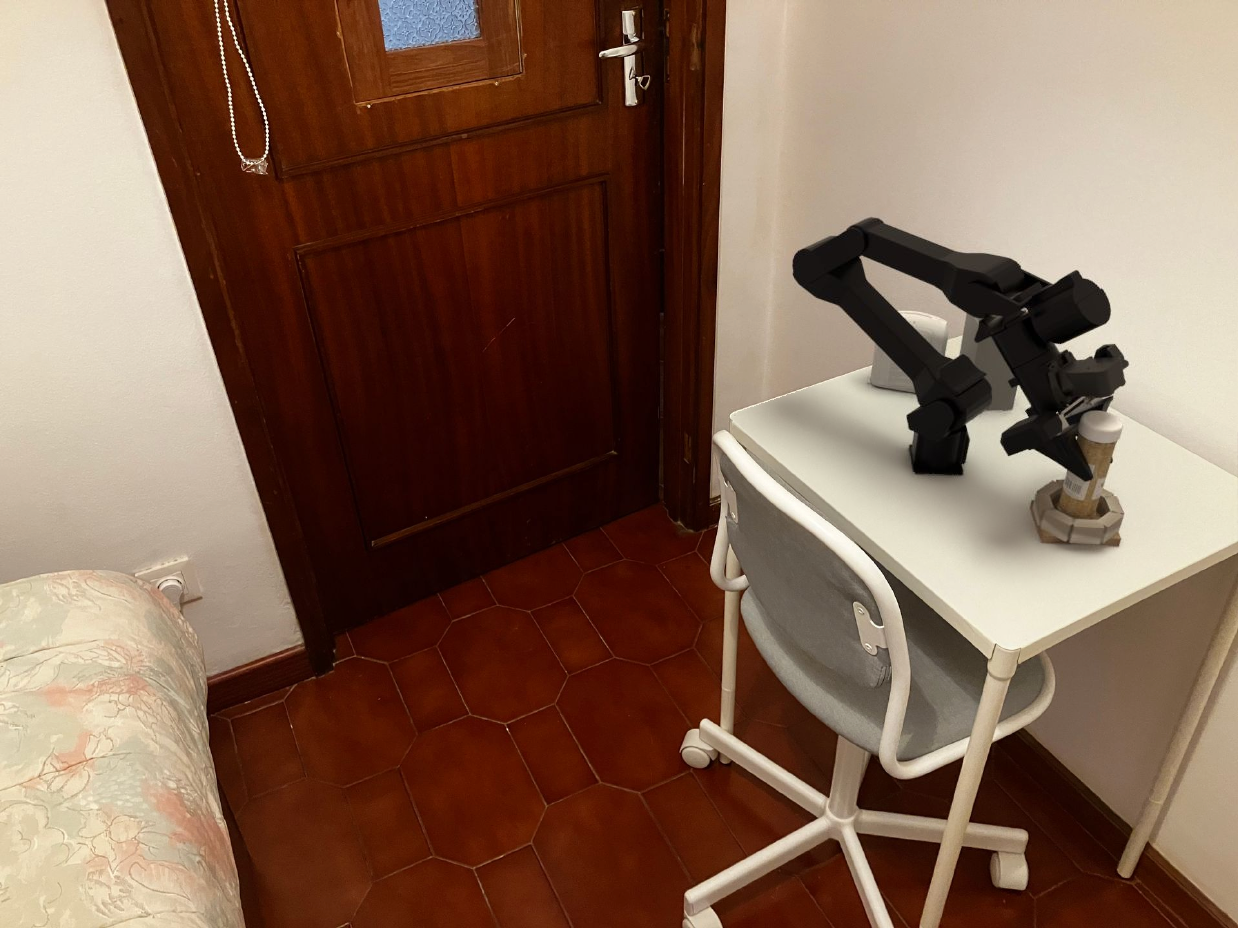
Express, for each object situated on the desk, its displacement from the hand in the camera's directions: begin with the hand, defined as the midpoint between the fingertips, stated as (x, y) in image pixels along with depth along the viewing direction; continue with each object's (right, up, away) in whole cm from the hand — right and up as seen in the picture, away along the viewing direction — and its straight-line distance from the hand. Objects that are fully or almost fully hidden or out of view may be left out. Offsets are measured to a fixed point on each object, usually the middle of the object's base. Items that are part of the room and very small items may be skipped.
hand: (1099, 472), depth 120 cm
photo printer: (-13, +13, +35) cm, 39 cm away
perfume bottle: (-3, +11, +31) cm, 33 cm away
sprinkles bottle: (-1, -5, +5) cm, 7 cm away
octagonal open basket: (0, -7, +6) cm, 9 cm away
